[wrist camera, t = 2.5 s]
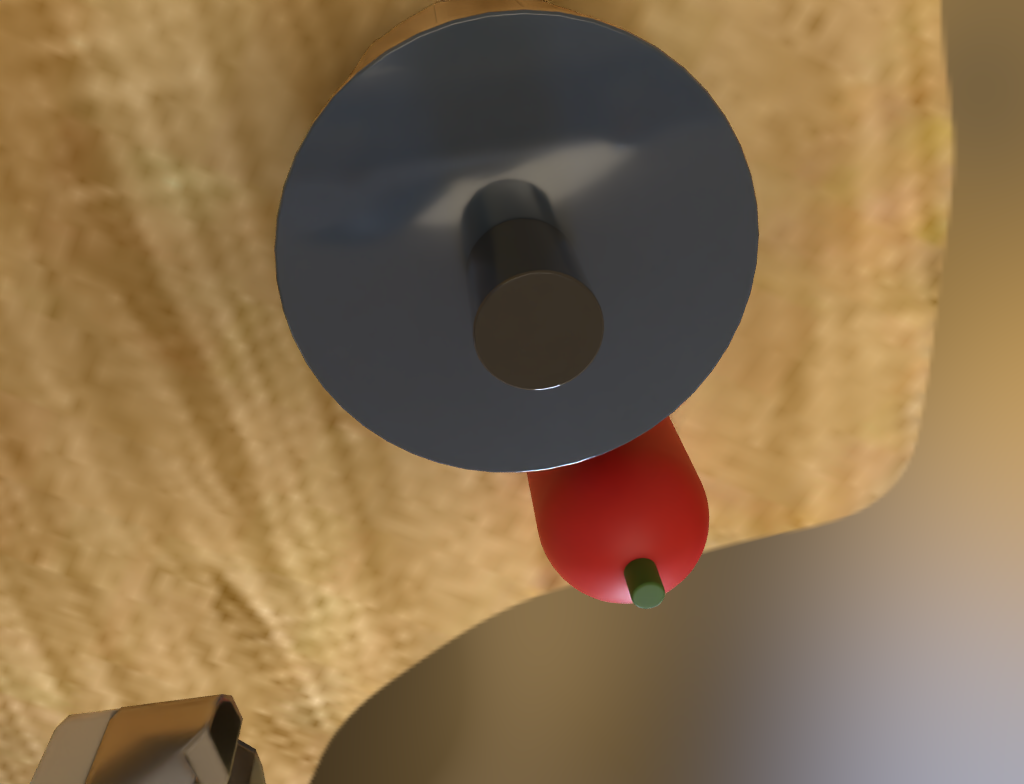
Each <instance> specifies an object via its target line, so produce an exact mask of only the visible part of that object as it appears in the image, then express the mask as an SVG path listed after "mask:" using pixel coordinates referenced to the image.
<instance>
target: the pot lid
mask: <svg viewBox="0 0 1024 784" xmlns="http://www.w3.org/2000/svg"><path fill="white" fill-rule="evenodd" d="M758 239H759V229H758V211H757V201H756V196H755V191H754V186H753V181H752V176H751V173H750V170H749V167H748V164H747V161H746V158H745V155H744V153H743V150H742V147H741V144H740V143H739V141H738V139H737V137H736V135H735V133H734V131H733V129H732V127H731V125H730V123H729V122H728V120H727V118H726V116H725V115H724V113H723V112H722V111H721V109H720V108H719V107H718V105H717V104H716V102H715V101H714V100H713V98H712V97H711V96H710V94H709V93H708V91H707V90H706V89H705V88H704V87H703V86H702V85H701V84H700V83H699V82H698V81H697V80H696V79H695V78H694V77H693V76H692V75H691V74H690V73H689V72H688V71H687V70H686V69H685V68H684V67H683V66H681V65H680V64H679V63H678V62H676V61H675V60H674V59H672V58H671V57H670V56H668V55H667V54H666V53H664V52H663V51H662V50H660V49H659V48H658V47H656V46H654V45H653V44H651V43H649V42H647V41H645V40H643V39H642V38H640V37H638V36H636V35H634V34H632V33H631V32H629V31H627V30H625V29H623V28H621V27H618V26H616V25H613V24H610V23H607V22H605V21H602V20H599V19H597V18H594V17H591V16H587V15H582V14H578V13H573V12H568V11H564V10H559V9H549V8H533V7H511V8H499V9H486V10H481V11H477V12H473V13H468V14H464V15H459V16H455V17H451V18H448V19H445V20H443V21H440V22H437V23H435V24H432V25H430V26H427V27H424V28H422V29H419V30H417V31H415V32H413V33H411V34H410V35H408V36H406V37H404V38H402V39H401V40H399V41H397V42H395V43H393V44H391V45H390V46H388V47H386V48H385V49H384V50H382V51H381V52H380V53H378V54H377V55H376V56H374V57H373V58H372V59H370V60H369V61H368V62H366V63H365V64H364V65H362V66H361V67H360V68H358V69H357V70H356V71H355V72H354V73H353V74H352V75H351V76H350V77H349V78H348V79H347V80H346V81H345V82H344V83H343V84H342V85H341V86H340V87H339V89H338V90H337V91H336V92H335V93H334V94H333V95H332V96H331V98H330V99H329V100H328V102H327V103H326V104H325V106H324V107H323V108H322V110H321V111H320V113H319V114H318V115H317V117H316V118H315V119H314V121H313V123H312V124H311V126H310V128H309V130H308V132H307V134H306V135H305V137H304V139H303V141H302V143H301V145H300V146H299V148H298V150H297V152H296V154H295V156H294V159H293V162H292V164H291V167H290V170H289V172H288V175H287V178H286V180H285V183H284V186H283V190H282V195H281V199H280V204H279V209H278V213H277V219H276V232H275V246H274V252H275V267H276V280H277V285H278V290H279V294H280V299H281V304H282V309H283V312H284V314H285V317H286V320H287V323H288V326H289V328H290V331H291V334H292V337H293V339H294V341H295V343H296V344H297V346H298V348H299V350H300V352H301V354H302V356H303V358H304V360H305V362H306V363H307V365H308V366H309V368H310V369H311V371H312V372H313V373H314V375H315V376H316V378H317V379H318V380H319V382H320V383H321V385H322V386H323V387H324V388H325V390H326V391H327V392H328V393H329V394H330V395H331V396H332V397H333V398H334V399H335V400H336V401H337V403H338V404H339V405H340V406H341V407H342V408H343V409H344V410H345V411H347V412H348V413H349V414H350V415H351V416H353V417H354V418H355V419H356V420H357V421H359V422H360V423H361V424H362V425H363V426H365V427H366V428H368V429H369V430H371V431H372V432H374V433H375V434H377V435H378V436H380V437H381V438H383V439H385V440H386V441H388V442H390V443H392V444H394V445H396V446H398V447H400V448H402V449H404V450H406V451H408V452H410V453H412V454H415V455H417V456H420V457H423V458H426V459H429V460H432V461H434V462H437V463H441V464H445V465H450V466H454V467H458V468H463V469H468V470H477V471H486V472H529V471H539V470H548V469H553V468H557V467H562V466H567V465H571V464H576V463H579V462H582V461H585V460H588V459H591V458H594V457H597V456H600V455H602V454H605V453H607V452H609V451H611V450H613V449H616V448H618V447H620V446H622V445H624V444H626V443H628V442H630V441H632V440H633V439H635V438H637V437H638V436H640V435H642V434H643V433H645V432H647V431H648V430H650V429H652V428H653V427H654V426H656V425H657V424H658V423H660V422H661V421H662V420H664V419H665V418H666V417H667V416H669V415H670V414H671V413H673V412H674V411H675V410H676V409H677V408H678V407H679V406H680V405H681V404H682V403H683V402H684V401H686V400H687V399H688V398H689V397H690V396H691V395H692V394H693V393H694V392H695V391H696V389H697V388H698V387H699V386H700V385H701V384H702V382H703V381H704V380H705V379H706V378H707V376H708V375H709V374H710V373H711V372H712V370H713V369H714V367H715V366H716V364H717V363H718V361H719V360H720V358H721V357H722V355H723V353H724V352H725V350H726V349H727V347H728V346H729V344H730V342H731V340H732V338H733V335H734V333H735V331H736V329H737V327H738V325H739V323H740V321H741V319H742V316H743V313H744V310H745V307H746V304H747V301H748V299H749V296H750V292H751V288H752V283H753V278H754V274H755V269H756V264H757V251H758Z"/></svg>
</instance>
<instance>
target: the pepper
mask: <svg viewBox="0 0 1024 784" xmlns="http://www.w3.org/2000/svg"><path fill="white" fill-rule="evenodd" d="M527 475H528V481H529V486H530V491H531V497H532V502H533V507H534V512H535V518H536V523H537V528H538V533H539V537H540V541H541V544H542V547H543V549H544V551H545V554H546V556H547V557H548V559H549V561H550V562H551V564H552V566H553V567H554V568H555V570H556V571H557V572H558V573H559V574H560V575H561V576H562V578H563V579H564V580H566V581H567V582H568V583H569V584H570V585H572V586H573V587H574V588H576V589H577V590H579V591H580V592H582V593H584V594H586V595H589V596H591V597H593V598H596V599H599V600H602V601H607V602H612V603H634V604H635V605H636V606H638V607H640V608H644V609H647V608H653V607H655V606H657V605H659V604H660V603H661V602H662V601H663V599H664V597H665V593H666V592H668V591H670V590H671V589H673V588H674V587H675V586H677V585H678V584H679V583H680V582H681V581H683V580H684V579H685V578H686V577H687V575H688V574H689V573H690V572H691V571H692V569H693V568H694V566H695V565H696V563H697V562H698V560H699V558H700V556H701V554H702V552H703V549H704V546H705V543H706V540H707V535H708V528H709V509H708V502H707V497H706V494H705V491H704V488H703V485H702V483H701V481H700V479H699V477H698V475H697V473H696V471H695V469H694V466H693V464H692V462H691V460H690V458H689V456H688V454H687V452H686V450H685V448H684V446H683V444H682V442H681V440H680V438H679V436H678V434H677V432H676V430H675V428H674V426H673V424H672V422H671V420H670V418H669V416H667V417H666V418H665V419H664V420H662V421H661V422H660V423H658V424H657V425H656V426H654V427H653V428H652V429H650V430H648V431H647V432H645V433H643V434H642V435H640V436H638V437H637V438H635V439H633V440H632V441H630V442H628V443H626V444H624V445H622V446H620V447H618V448H616V449H613V450H611V451H609V452H607V453H605V454H602V455H600V456H597V457H594V458H591V459H588V460H585V461H582V462H579V463H576V464H571V465H567V466H562V467H557V468H553V469H548V470H539V471H529V472H527Z"/></svg>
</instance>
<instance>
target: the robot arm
mask: <svg viewBox="0 0 1024 784" xmlns="http://www.w3.org/2000/svg"><path fill="white" fill-rule="evenodd" d="M242 720H243V718H242V716H241V714H240V712H239V710H238V708H237V705H236V703H235V701H234V699H233V697H232V696H231V695H224V694H220V695H213V696H205V697H197V698H190V699H182V700H174V701H166V702H159V703H151V704H143V705H136V706H128V707H121V708H120V709H112V710H104V711H97V712H89V713H81V714H74V715H69V716H68V717H67V718H66V719H65V720H64V721H63V722H62V723H61V724H60V725H59V726H57V727H56V729H55V730H54V732H53V734H52V736H51V739H50V741H49V743H48V745H47V747H46V749H45V752H44V754H43V756H42V758H41V760H40V763H39V765H38V767H37V769H36V771H35V773H34V776H33V778H32V780H31V782H30V784H266V783H265V778H264V772H263V767H262V764H261V762H260V759H259V757H258V754H257V752H256V749H254V748H252V747H251V746H249V745H247V744H246V743H244V742H242V741H241V740H239V739H238V738H239V734H240V729H241V724H242Z"/></svg>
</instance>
